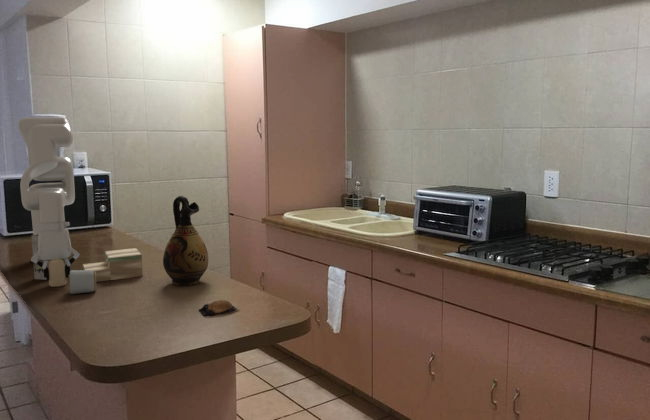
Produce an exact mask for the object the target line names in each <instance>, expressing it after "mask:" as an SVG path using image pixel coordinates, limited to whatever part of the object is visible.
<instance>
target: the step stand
mask: <svg viewBox="0 0 650 420" xmlns="http://www.w3.org/2000/svg"><path fill="white" fill-rule="evenodd" d="M104 256H105V261H100V262H90V263H89V262H88V263H82V269H83V270H93V271H95V272H96V283H97V282H105V281H113V280H123V279H129V278H138V277H143V275H144V274H143V271H144V270H143V257H142V253H141V252H140V251H139V249H137V248H136V247H133V248H123V249H115V250H114V249H112V250H105V251H104Z"/></svg>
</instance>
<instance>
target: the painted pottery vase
mask: <svg viewBox="0 0 650 420" xmlns="http://www.w3.org/2000/svg"><path fill="white" fill-rule="evenodd" d="M180 207H181V209H180ZM172 210H173V211H172V212H173V218H174V224H175V231H174V232H173V233H172V235H171V236H170V237H169V239H168V242H167V243H166V244H165V245H166V246H165V249H164V251H163V257H162V258H163V259H162V265H163V269H164V271H165V273H166V274H167V276H168V277H169V278H170V279H171V282H172V284H173V285H175V286H177V287H182V286H183V287H184V286H185V287H187V286H188V287H189V286H194V285H196V284H199V283H200V280H201V278H202V277H203V276H204V274H205V273H206V271H207V269H208V268H209V266H208V265H209V254H208V249H207V247H206V244H205V242H204V240H203V238H202V237H201V234H200V233H199V232H198V230H197V229H196V228H195V226H194V225H193V223H192V218H191V216H192V215H195V214H196V213H198V212H199V211H200V206H199V205H198V204H197V202H195V201H193V202H192V203H190V202H189V199H188V198H187V197H186V196H183V195H179V196H176V197H175V199H174V200H173V202H172Z"/></svg>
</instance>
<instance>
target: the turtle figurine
mask: <svg viewBox="0 0 650 420" xmlns="http://www.w3.org/2000/svg"><path fill="white" fill-rule="evenodd" d="M239 311H240V310H239V309H238V308H237V307H235V306H234V305H233V303H232V302H230V301H229V300H226V299H219V300H214V301H212V302H210V303H207V304H204V305H203V306H202V307H201V308H200V309H198V312H199V313H200V314H201V316H203V317H208V318H209V317H215V316H217V317H218V316H223V315H226V314H227V315H228V314H232V313H236V312H239Z"/></svg>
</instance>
